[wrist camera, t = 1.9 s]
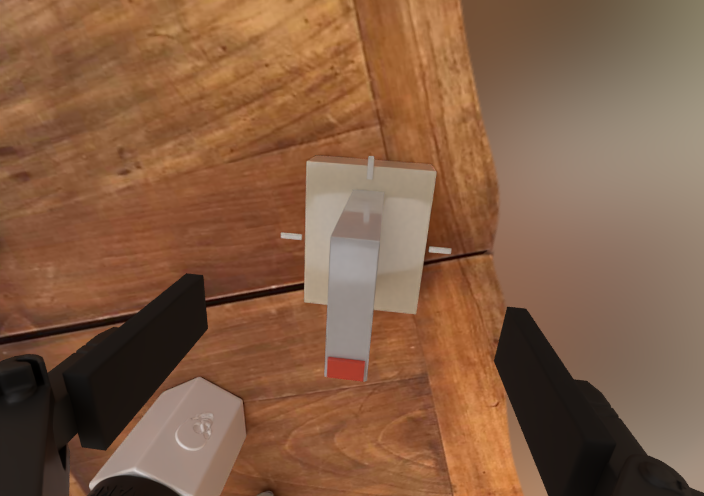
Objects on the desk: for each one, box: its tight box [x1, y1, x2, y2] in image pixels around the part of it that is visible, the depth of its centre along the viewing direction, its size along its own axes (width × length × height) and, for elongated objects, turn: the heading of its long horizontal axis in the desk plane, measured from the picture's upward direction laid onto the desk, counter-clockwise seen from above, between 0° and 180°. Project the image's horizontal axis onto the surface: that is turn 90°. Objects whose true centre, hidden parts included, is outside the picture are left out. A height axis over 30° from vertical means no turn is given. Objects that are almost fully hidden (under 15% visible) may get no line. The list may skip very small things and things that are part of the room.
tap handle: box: [324, 189, 385, 382], centre depth 20 cm, size 7×2×9 cm, turn 176°
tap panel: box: [281, 155, 451, 314], centre depth 26 cm, size 11×11×3 cm
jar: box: [87, 377, 246, 496], centre depth 30 cm, size 9×8×12 cm
